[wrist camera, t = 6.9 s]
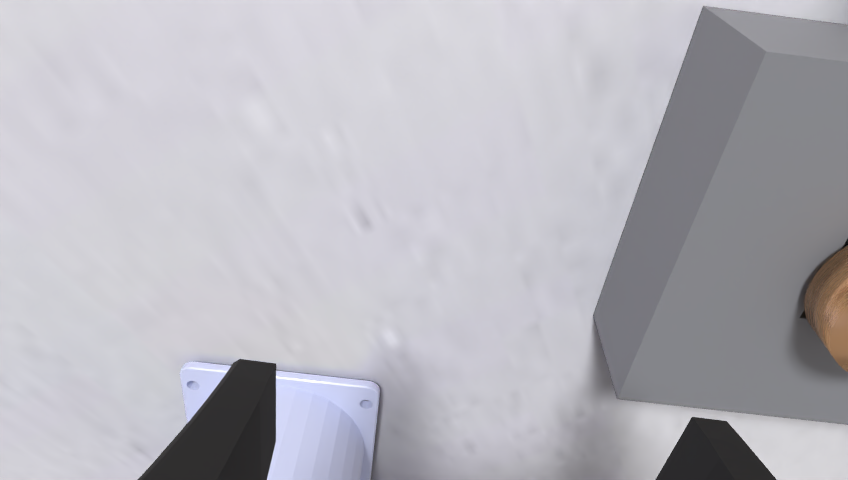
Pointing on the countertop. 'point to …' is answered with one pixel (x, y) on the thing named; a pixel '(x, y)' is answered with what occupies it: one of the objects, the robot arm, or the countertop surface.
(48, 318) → the countertop surface
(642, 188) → the block
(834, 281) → the plunger
